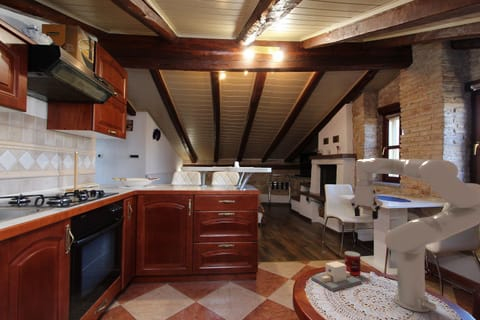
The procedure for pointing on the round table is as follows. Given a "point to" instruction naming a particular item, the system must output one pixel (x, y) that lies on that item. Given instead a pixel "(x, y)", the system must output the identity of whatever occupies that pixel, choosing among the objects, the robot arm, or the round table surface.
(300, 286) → the round table surface
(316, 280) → the mount board
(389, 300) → the round table surface
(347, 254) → the canned food
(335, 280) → the cabinet block
